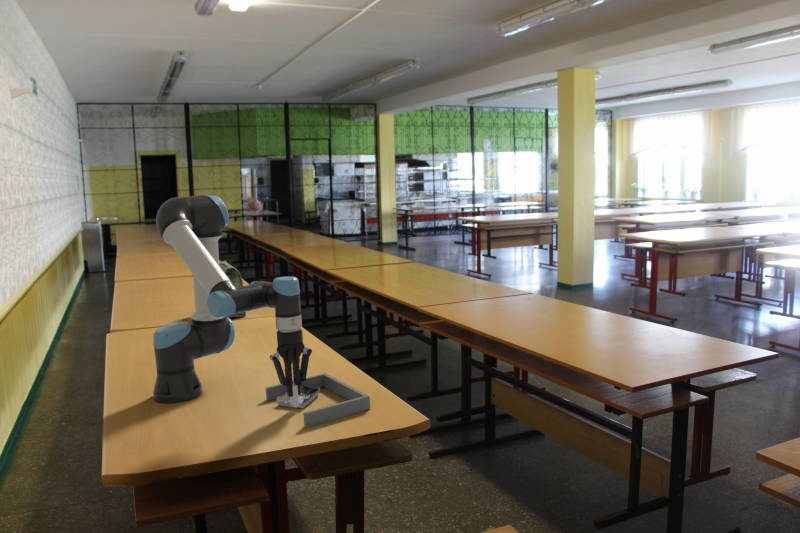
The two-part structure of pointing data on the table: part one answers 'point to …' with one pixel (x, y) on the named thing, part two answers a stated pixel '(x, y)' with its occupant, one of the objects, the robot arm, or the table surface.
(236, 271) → the bag
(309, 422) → the box
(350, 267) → the table surface
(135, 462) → the table surface
